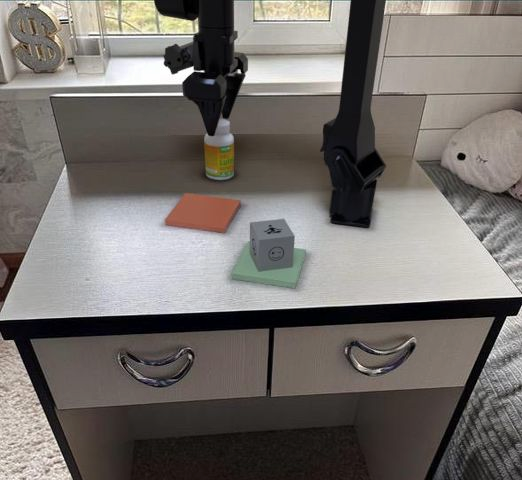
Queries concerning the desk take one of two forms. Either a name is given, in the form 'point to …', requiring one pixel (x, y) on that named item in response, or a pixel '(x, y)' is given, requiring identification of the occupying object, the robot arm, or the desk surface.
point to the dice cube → (271, 244)
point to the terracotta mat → (203, 213)
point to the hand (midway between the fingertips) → (218, 126)
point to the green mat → (277, 277)
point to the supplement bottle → (220, 152)
